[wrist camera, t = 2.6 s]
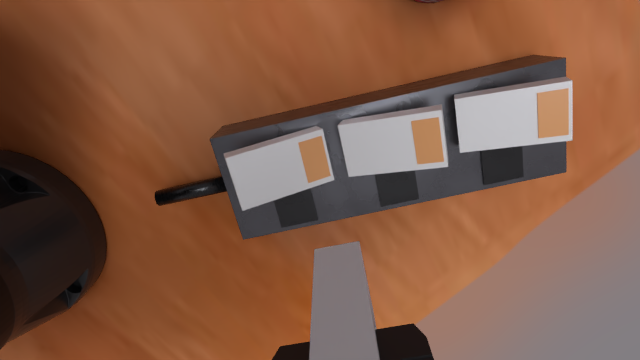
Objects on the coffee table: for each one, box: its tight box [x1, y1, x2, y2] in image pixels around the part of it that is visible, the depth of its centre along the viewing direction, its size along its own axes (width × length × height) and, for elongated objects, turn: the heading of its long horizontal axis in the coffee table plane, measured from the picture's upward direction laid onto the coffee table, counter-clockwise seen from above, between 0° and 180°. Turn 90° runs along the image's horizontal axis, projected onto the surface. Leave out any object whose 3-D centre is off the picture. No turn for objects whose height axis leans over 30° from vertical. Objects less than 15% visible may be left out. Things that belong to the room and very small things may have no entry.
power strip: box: [155, 55, 566, 240], centre depth 29 cm, size 30×8×5 cm, turn 103°
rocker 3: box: [454, 77, 572, 153], centre depth 25 cm, size 6×4×2 cm, turn 102°
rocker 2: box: [338, 105, 448, 177], centre depth 25 cm, size 6×4×2 cm, turn 102°
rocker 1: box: [224, 126, 334, 211], centre depth 26 cm, size 6×4×2 cm, turn 104°
